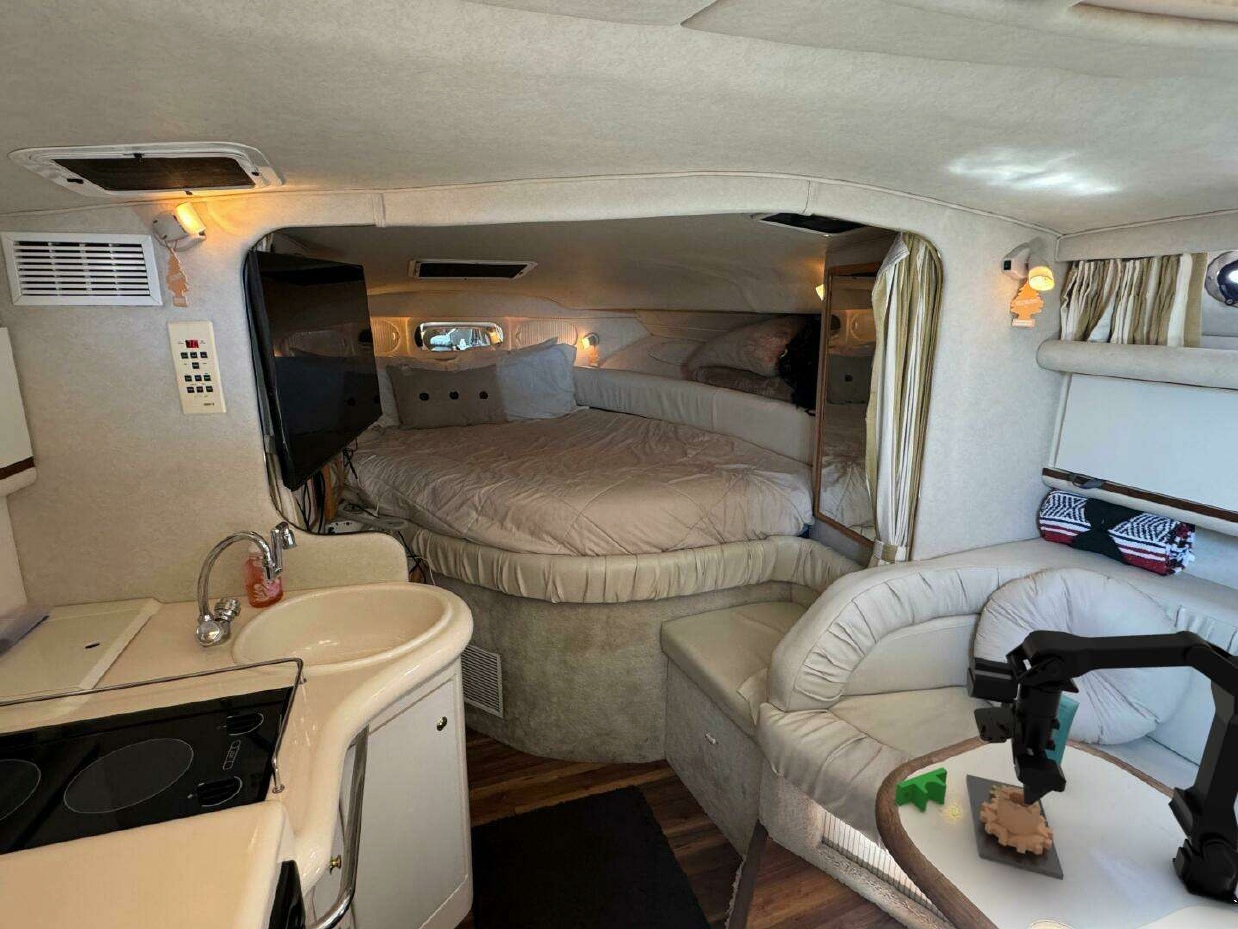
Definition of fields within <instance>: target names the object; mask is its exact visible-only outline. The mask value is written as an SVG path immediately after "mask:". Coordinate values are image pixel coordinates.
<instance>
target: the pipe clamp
mask: <svg viewBox="0 0 1238 929" xmlns="http://www.w3.org/2000/svg"><path fill="white" fill-rule="evenodd" d="M947 776H948V770H947V769H945V767H939V768H937V769H933V770H931V771H928V772H925V773H923V774H920V775H916V776H914V777H911V778H909V779H906V780H903V781H900V782H898V783H897V784H896V789H895V799H894V802H896V803H897V804H898V805H899V806H900V807H902V806H904V805H908V804H911V803H912V804H913V805H914V806H916V808H917V809H918V810H920V812H922V813H924V812H926V810H927V804H928V803H927V802H928V801H932V802H935V803H937V804H939V805H940V806H942V805H944V804H945V798H946V794H947V793H946V792H947V791H946V790H947V785H948V784H947ZM896 803H895V804H896ZM897 804H896V805H897ZM898 805H897V806H898ZM899 806H898V807H899Z"/></svg>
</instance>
